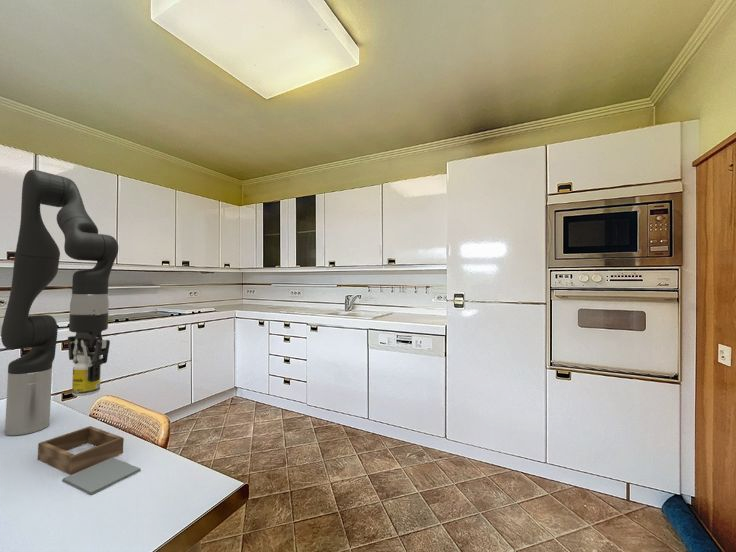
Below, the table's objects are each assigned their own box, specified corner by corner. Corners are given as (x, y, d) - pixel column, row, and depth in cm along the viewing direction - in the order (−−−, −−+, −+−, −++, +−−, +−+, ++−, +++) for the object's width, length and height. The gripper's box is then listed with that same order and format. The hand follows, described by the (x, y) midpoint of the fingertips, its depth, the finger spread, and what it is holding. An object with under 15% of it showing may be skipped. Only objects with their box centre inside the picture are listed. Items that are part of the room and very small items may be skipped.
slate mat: (62, 481, 74) (62, 478, 74) (112, 459, 83) (112, 457, 83) (91, 495, 69) (91, 492, 69) (140, 471, 78) (140, 468, 78)
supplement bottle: (67, 394, 83) (69, 354, 83) (93, 388, 87) (95, 350, 88) (78, 398, 80) (79, 357, 80) (104, 391, 85) (105, 353, 85)
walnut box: (37, 459, 82) (38, 443, 82) (89, 440, 92) (90, 426, 92) (71, 475, 76) (71, 457, 76) (123, 453, 86) (123, 437, 86)
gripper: (55, 311, 84) (52, 379, 83) (88, 314, 78) (85, 387, 77) (90, 309, 90) (87, 372, 90) (123, 312, 85) (120, 379, 84)
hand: (86, 378), depth 84 cm, fingers closed on supplement bottle, 5 cm apart
